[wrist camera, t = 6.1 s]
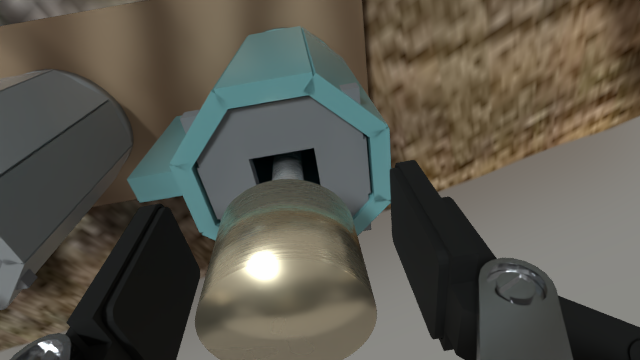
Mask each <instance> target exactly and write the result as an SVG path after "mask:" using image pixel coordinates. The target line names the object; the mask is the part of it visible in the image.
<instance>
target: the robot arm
mask: <svg viewBox="0 0 640 360" xmlns="http://www.w3.org/2000/svg"><path fill="white" fill-rule="evenodd" d="M390 195H391V217H392V218H391V220H392V237H393V242H394V245H395V248H396V250H397V253H398V255H399V257H400V260H401V263H402V265H403V268H404V270H405V273H406V275H407V278H408V280H409V283H410V285H411V288H412V290H413V293H414V295H415V297H416V300H417V303H418V305H419V308H420V310H421V313H422V315H423V318H424V320H425V323H426V325H427V328H428V331H429V333H430V335H431V337H432V338H433V339H438V338H439V340H440V342H441V345H442V347H443V349H444V351H446V350H452V349H454V351H455V353H456V355H458V356H459V357H461V358H463V359H465V360H640V327H637V326H635V325H632V324H629V323H627V322H625V321H622V320H619V319H617V318H614V317H612V316H609V315H607V314H604V313H601V312H599V311H596V310H594V309H591V308H589V307H586V306H583V305H581V304H578V303H576V302H573V301H571V300H568V299H565V298H563V297H560V296H558V294H557V290H556V288H555V286H554V283H553V281H552V280H551V279H550V278H549V277H548V275H547V274H546V273H545V272H543V271H542V270H540V269H539V268H538V267H536V266H534V265H532V264H530V263H528V262H525V261H522V260H518V259H514V258H499V259H497V258H496V257H495V256H494V254H493V253H492V252H491V250H490V249H489V248H488V247H487V245H486V243H485V242H484V241H483V239H482V238H481V237H480V235H479V234H478V233H477V231H476V230H475V229H474V227H473V226H472V225H471V223H470V222H469V220H468V219H467V218H466V216H465V215H464V214H463V212H462V211H461V210H460V208H459V207H458V206H457V204H456V203H455V202H454V200H453V199H452V198H450V197H443V198H441V197H440V195H439V194H438V193H437V191H436V190H435V188H434V187H433V185H432V184H431V182H430V181H429V180H428V178H427V177H426V175H425V174H424V172H423V171H422V169H421V168H420V167H419V165H418V164H417V162H416V161H415V160H411V161H405V162H399V163H396V165H395V168H392V169H390ZM199 279H200V269H199V266H198V264H197V262H196V260H195V258H194V256H193V254H192V252H191V250H190V248H189V246H188V244H187V242H186V240H185V238H184V236H183V234H182V232H181V230H180V228H179V226H178V224H177V222H176V220H175V218H174V216H173V214H172V212H171V210H170V209H169V208H168V207H164V206H163V205H162V204H155V205H149V206H143V207H140V208H139V209H138V211H137V212H136V214H135V215H134V217H133V219H132V220H131V222H130V223H129V225H128V226H127V228H126V230H125V231H124V233H123V234H122V236H121V238H120V239H119V241H118V242H117V244H116V245H115V247H114V249H113V250H112V252H111V253H110V255H109V256H108V258H107V260H106V261H105V263H104V264H103V266H102V267H101V269H100V271H99V272H98V274H97V275H96V277H95V278H94V280H93V282H92V283H91V285H90V286H89V288H88V289H87V291H86V293H85V294H84V296H83V297H82V299H81V300H80V302H79V304H78V305H77V307H76V308H75V310H74V311H73V313H72V315H71V316H70V318H69V319H68V321H67V322H66V323H67V324H68V325H69V326H70V328H69V329H68V331H67V333H66V334H60V333H57V334H50V335H47V336H44V337H42V338H39V339H37V340H35V341H34V342H32V343H30V344H28V345H27V346H25V347H24V348H23V349H22V350H20V351H19V352H18V353H16V354H15V355H14V356H13V357H12V358H11V359H10V360H176V358H177V355H178V351H179V348H180V344H181V341H182V338H183V334H184V331H185V327H186V324H187V320H188V316H189V313H190V310H191V306H192V303H193V299H194V296H195V292H196V289H197V285H198V282H199Z"/></svg>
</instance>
